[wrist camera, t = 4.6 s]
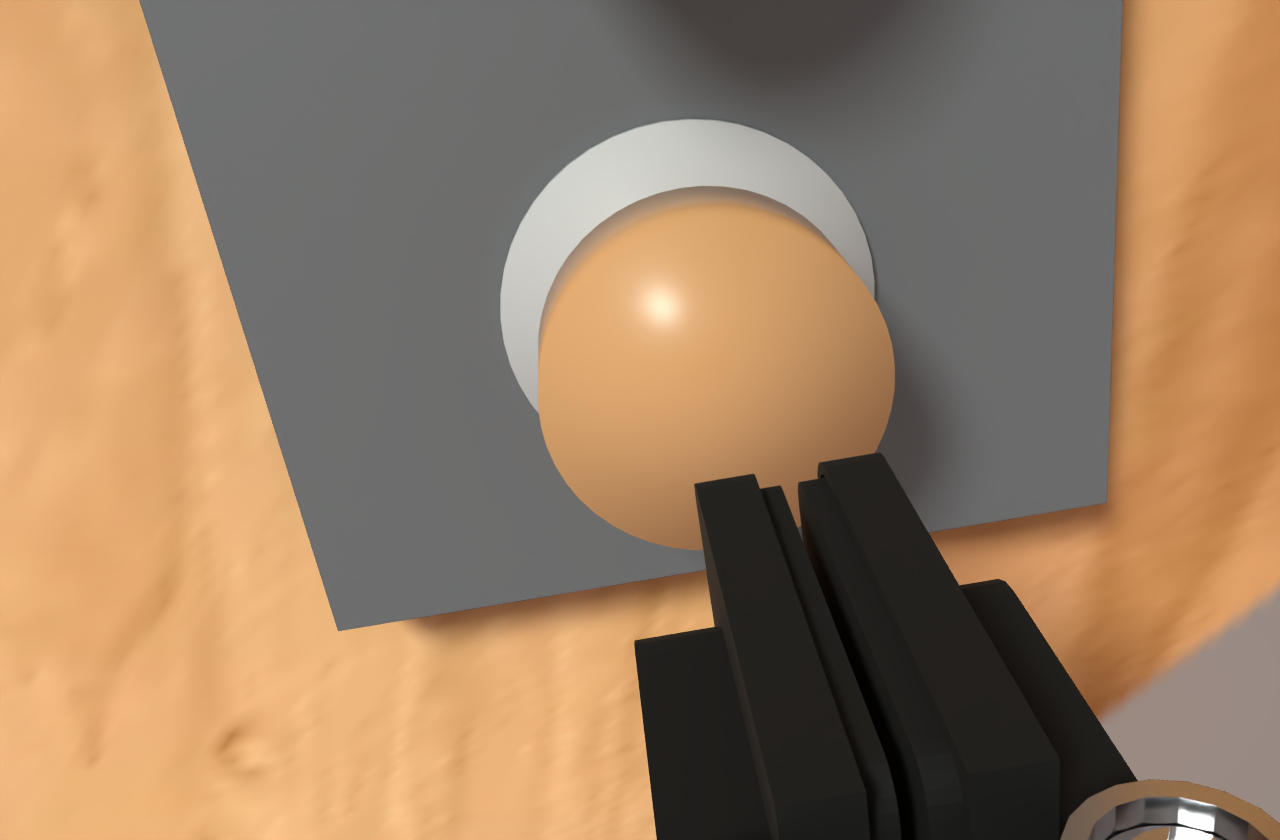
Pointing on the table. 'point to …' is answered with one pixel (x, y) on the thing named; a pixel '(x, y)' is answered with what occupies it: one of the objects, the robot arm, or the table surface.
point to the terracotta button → (706, 358)
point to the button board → (607, 182)
